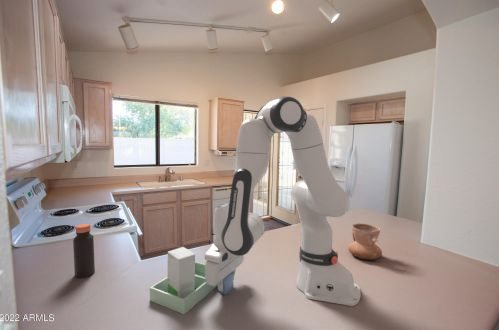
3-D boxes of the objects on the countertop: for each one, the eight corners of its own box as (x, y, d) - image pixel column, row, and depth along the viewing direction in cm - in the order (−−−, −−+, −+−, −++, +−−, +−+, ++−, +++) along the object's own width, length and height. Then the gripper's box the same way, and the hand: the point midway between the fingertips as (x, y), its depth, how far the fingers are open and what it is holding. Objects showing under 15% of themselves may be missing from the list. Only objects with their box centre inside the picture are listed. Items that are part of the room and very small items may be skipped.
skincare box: (167, 294, 86) (166, 251, 85) (184, 287, 90) (183, 245, 89) (178, 305, 80) (178, 259, 79) (196, 296, 84) (195, 253, 83)
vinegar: (98, 272, 101) (96, 224, 99) (80, 280, 95) (77, 229, 93) (89, 268, 104) (87, 222, 103) (71, 275, 98) (69, 226, 97)
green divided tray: (223, 280, 95) (223, 269, 95) (184, 314, 75) (183, 300, 75) (193, 271, 102) (193, 260, 101) (149, 300, 82) (149, 287, 82)
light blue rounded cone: (236, 288, 90) (236, 272, 89) (228, 296, 85) (228, 279, 85) (224, 284, 92) (224, 269, 92) (216, 291, 87) (216, 275, 87)
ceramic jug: (390, 263, 109) (391, 232, 108) (359, 264, 108) (360, 232, 107) (367, 248, 127) (368, 221, 126) (340, 248, 126) (341, 221, 125)
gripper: (233, 236, 98) (233, 270, 99) (201, 257, 80) (201, 297, 81) (247, 239, 95) (247, 273, 96) (217, 261, 77) (217, 303, 78)
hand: (226, 285), depth 88 cm, fingers closed on light blue rounded cone, 5 cm apart
